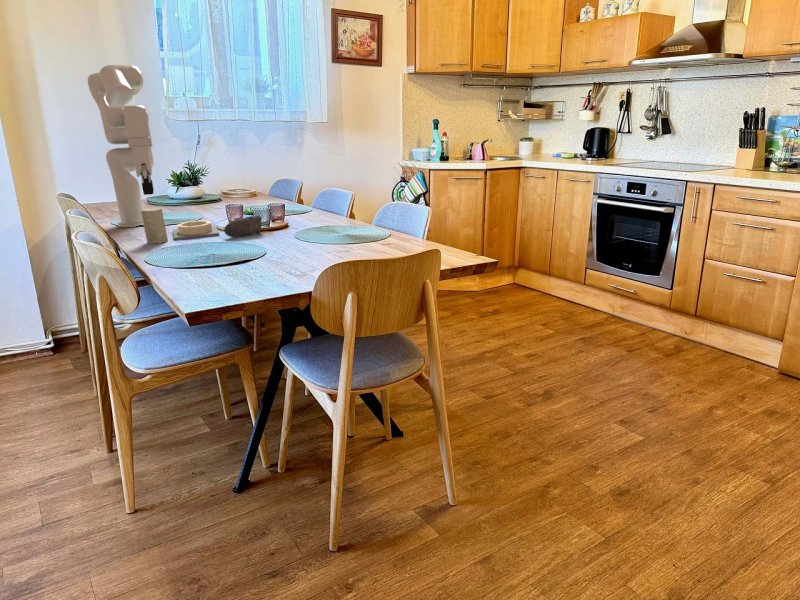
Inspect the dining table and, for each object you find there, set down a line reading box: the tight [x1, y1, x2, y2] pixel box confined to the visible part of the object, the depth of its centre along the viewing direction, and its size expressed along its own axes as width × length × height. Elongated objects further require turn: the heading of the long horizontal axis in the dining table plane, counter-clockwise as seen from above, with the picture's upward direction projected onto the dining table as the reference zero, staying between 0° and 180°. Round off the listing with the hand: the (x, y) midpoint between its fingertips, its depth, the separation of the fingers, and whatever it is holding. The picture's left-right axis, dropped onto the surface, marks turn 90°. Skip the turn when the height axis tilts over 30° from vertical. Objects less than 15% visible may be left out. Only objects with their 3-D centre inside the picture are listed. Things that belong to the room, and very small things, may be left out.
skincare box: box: [141, 207, 169, 244], centre depth 204 cm, size 6×4×12 cm
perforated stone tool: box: [224, 215, 263, 238], centre depth 212 cm, size 15×5×7 cm, turn 122°
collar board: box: [172, 220, 220, 241], centre depth 217 cm, size 16×16×4 cm
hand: (148, 192), depth 200 cm, fingers open, 9 cm apart
